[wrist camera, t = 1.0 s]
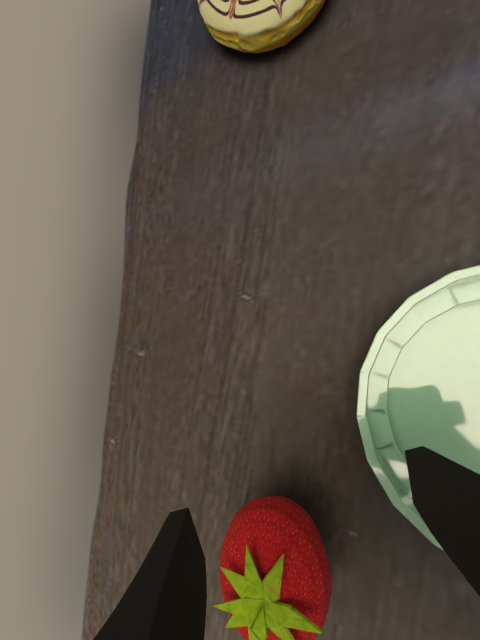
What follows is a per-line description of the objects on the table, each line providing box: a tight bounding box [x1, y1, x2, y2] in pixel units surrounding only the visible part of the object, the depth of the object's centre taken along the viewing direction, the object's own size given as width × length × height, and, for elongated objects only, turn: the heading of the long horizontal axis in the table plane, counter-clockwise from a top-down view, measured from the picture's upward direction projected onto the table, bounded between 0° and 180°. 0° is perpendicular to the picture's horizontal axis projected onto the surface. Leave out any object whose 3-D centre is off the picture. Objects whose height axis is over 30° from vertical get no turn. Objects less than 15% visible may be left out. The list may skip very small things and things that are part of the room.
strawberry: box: [213, 496, 331, 640], centre depth 20 cm, size 6×8×10 cm
